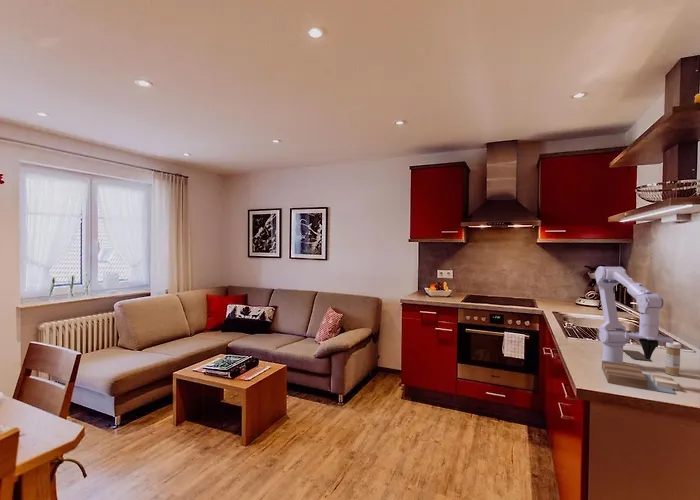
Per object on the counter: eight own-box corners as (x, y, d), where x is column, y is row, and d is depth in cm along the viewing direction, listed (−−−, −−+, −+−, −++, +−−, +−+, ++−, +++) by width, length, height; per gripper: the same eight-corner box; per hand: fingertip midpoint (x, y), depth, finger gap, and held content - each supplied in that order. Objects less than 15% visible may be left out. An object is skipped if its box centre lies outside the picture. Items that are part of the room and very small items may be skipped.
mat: (637, 373, 147) (637, 372, 147) (661, 377, 144) (661, 376, 144) (648, 389, 132) (648, 388, 132) (675, 394, 128) (675, 393, 128)
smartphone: (621, 351, 179) (633, 360, 165) (621, 349, 179) (633, 358, 165) (639, 352, 176) (653, 362, 162) (639, 351, 176) (653, 360, 162)
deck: (601, 368, 153) (602, 360, 153) (636, 373, 148) (636, 365, 147) (608, 382, 138) (608, 374, 138) (647, 389, 132) (647, 380, 132)
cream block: (670, 376, 139) (670, 381, 139) (650, 373, 142) (650, 378, 142) (677, 384, 131) (677, 389, 131) (656, 381, 134) (656, 386, 134)
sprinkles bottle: (677, 373, 148) (678, 341, 148) (681, 377, 144) (683, 344, 144) (663, 371, 150) (664, 340, 150) (667, 375, 146) (668, 343, 146)
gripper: (627, 324, 138) (626, 358, 139) (676, 329, 131) (674, 365, 132) (624, 320, 144) (622, 353, 145) (670, 325, 137) (669, 359, 138)
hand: (647, 358), depth 139 cm, fingers closed
